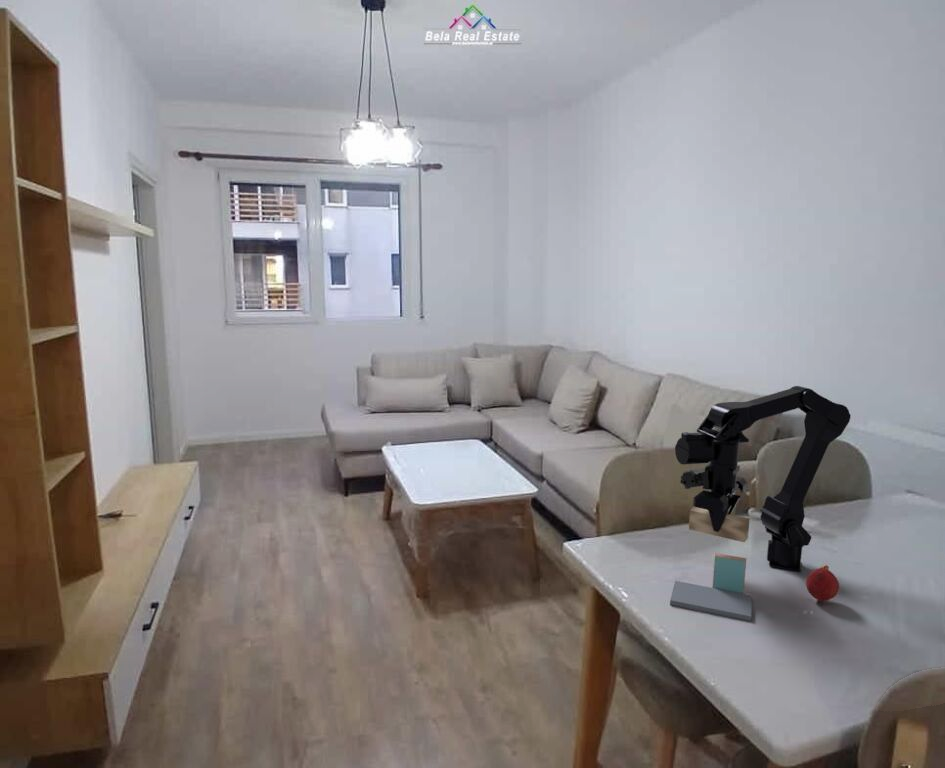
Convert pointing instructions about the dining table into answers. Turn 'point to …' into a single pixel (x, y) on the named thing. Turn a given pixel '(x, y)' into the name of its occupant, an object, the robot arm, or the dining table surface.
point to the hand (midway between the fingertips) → (718, 529)
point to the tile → (729, 573)
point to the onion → (822, 584)
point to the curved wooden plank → (730, 528)
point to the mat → (711, 600)
